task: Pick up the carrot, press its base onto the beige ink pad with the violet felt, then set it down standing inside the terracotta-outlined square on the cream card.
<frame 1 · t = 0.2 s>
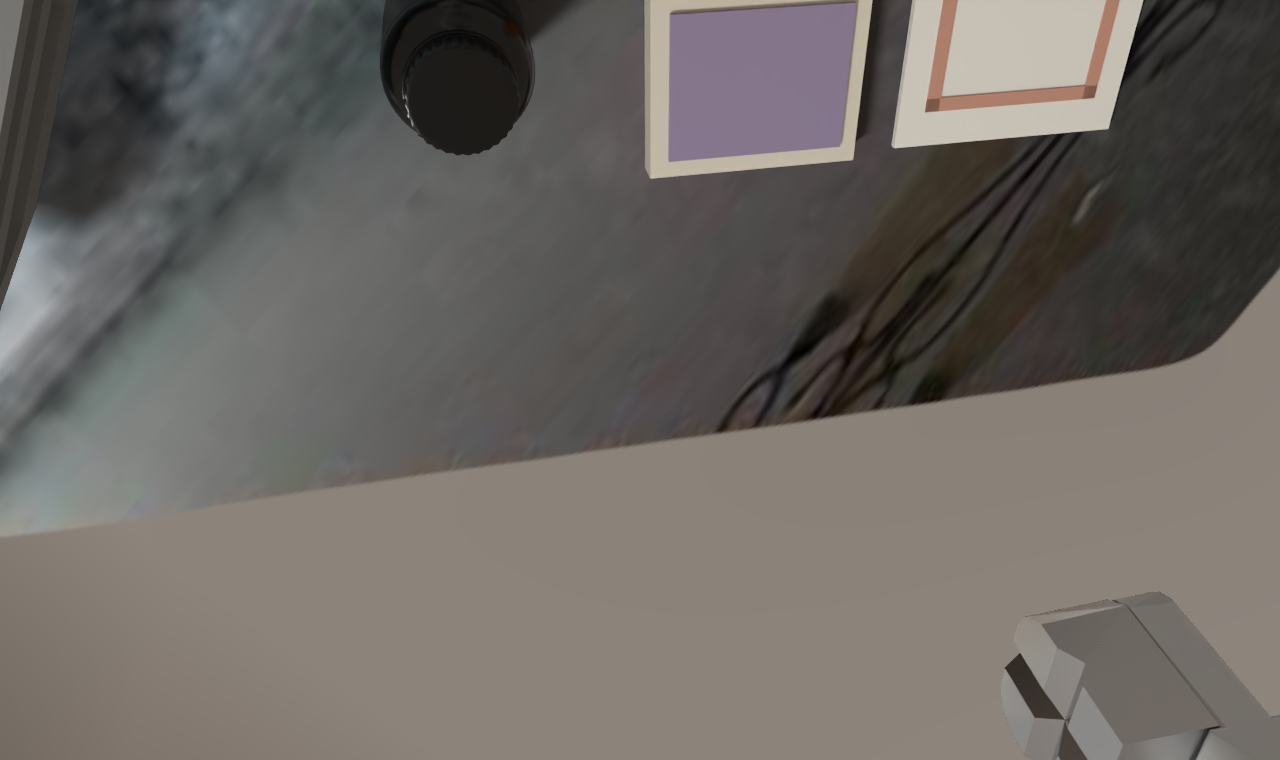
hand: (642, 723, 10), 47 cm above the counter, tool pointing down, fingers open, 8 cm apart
ink pad: (750, 73, 56), on the counter
supplement bottle: (450, 17, 52), on the counter
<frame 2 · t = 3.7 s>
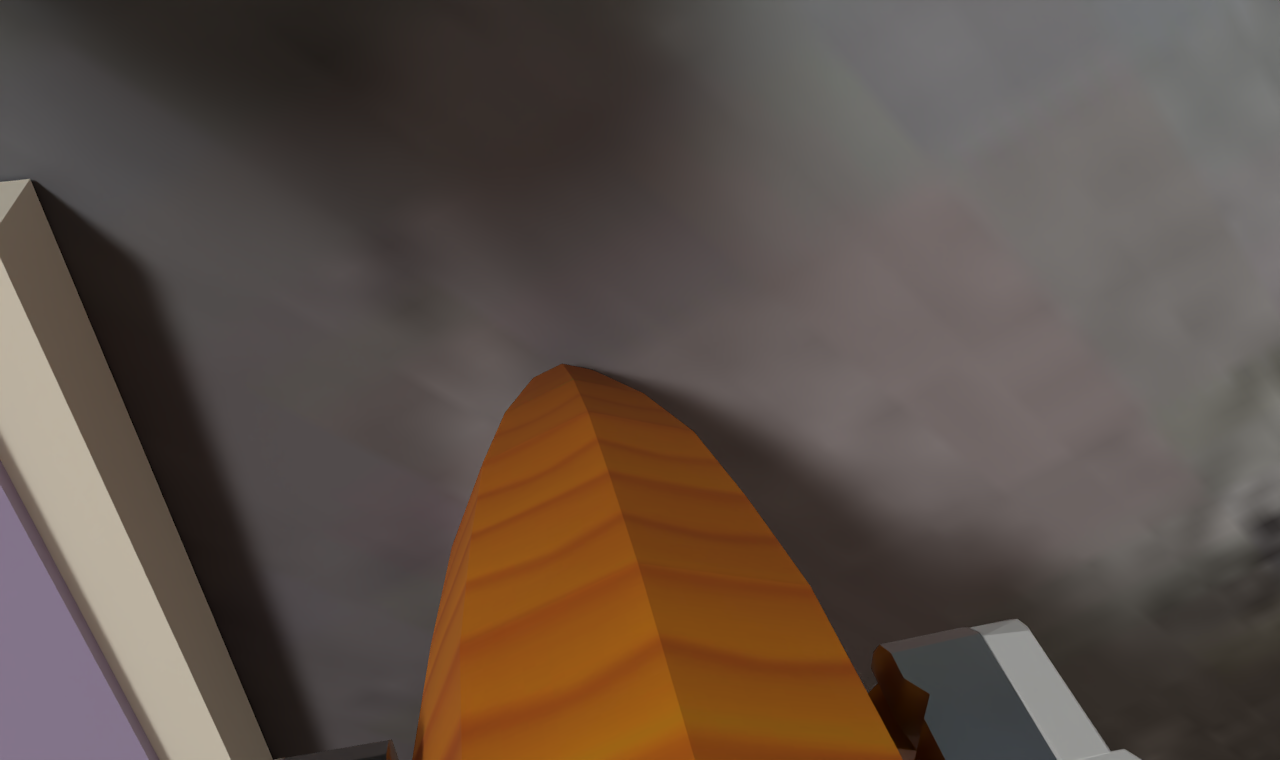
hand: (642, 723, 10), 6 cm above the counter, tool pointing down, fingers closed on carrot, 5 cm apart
carrot: (558, 371, 15), on the counter, touching gripper
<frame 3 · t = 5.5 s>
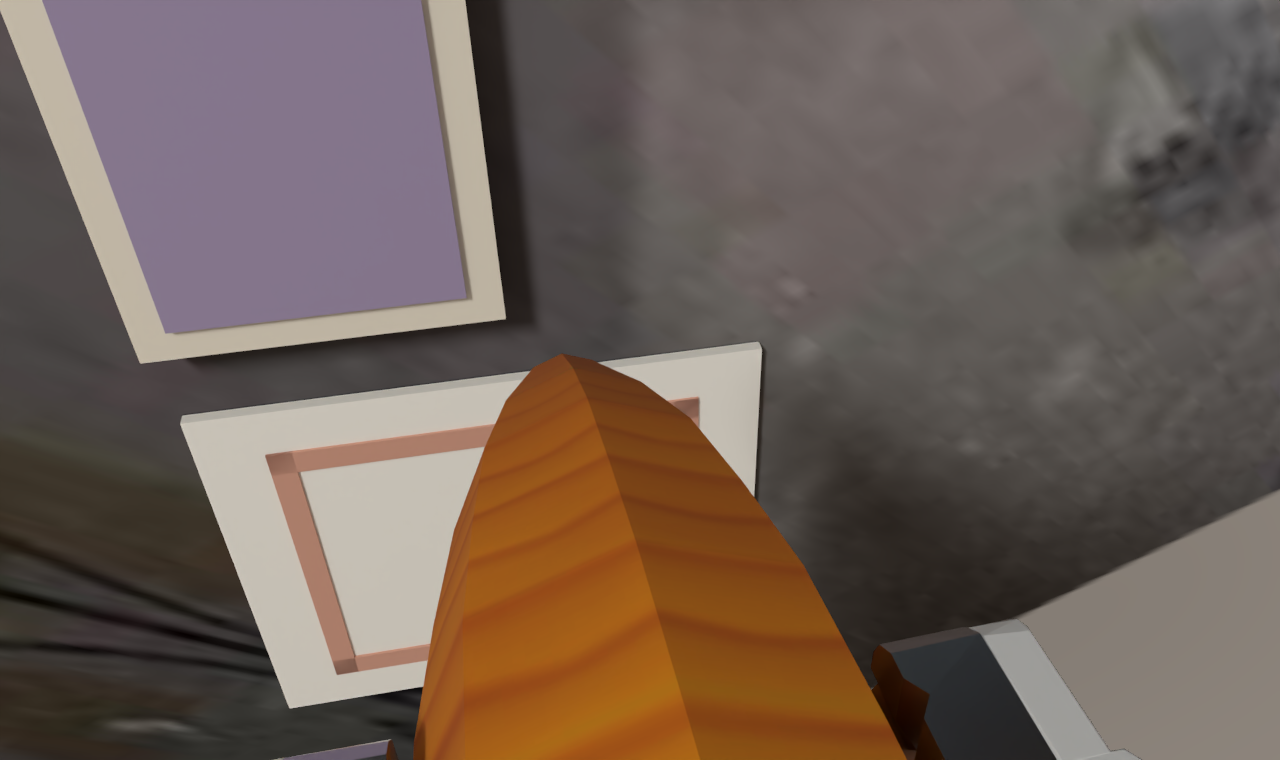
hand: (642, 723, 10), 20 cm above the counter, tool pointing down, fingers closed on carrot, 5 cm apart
print card: (504, 535, 36), on the counter
ink pad: (281, 115, 26), on the counter
carrot: (558, 362, 16), point 13 cm above the counter, touching gripper
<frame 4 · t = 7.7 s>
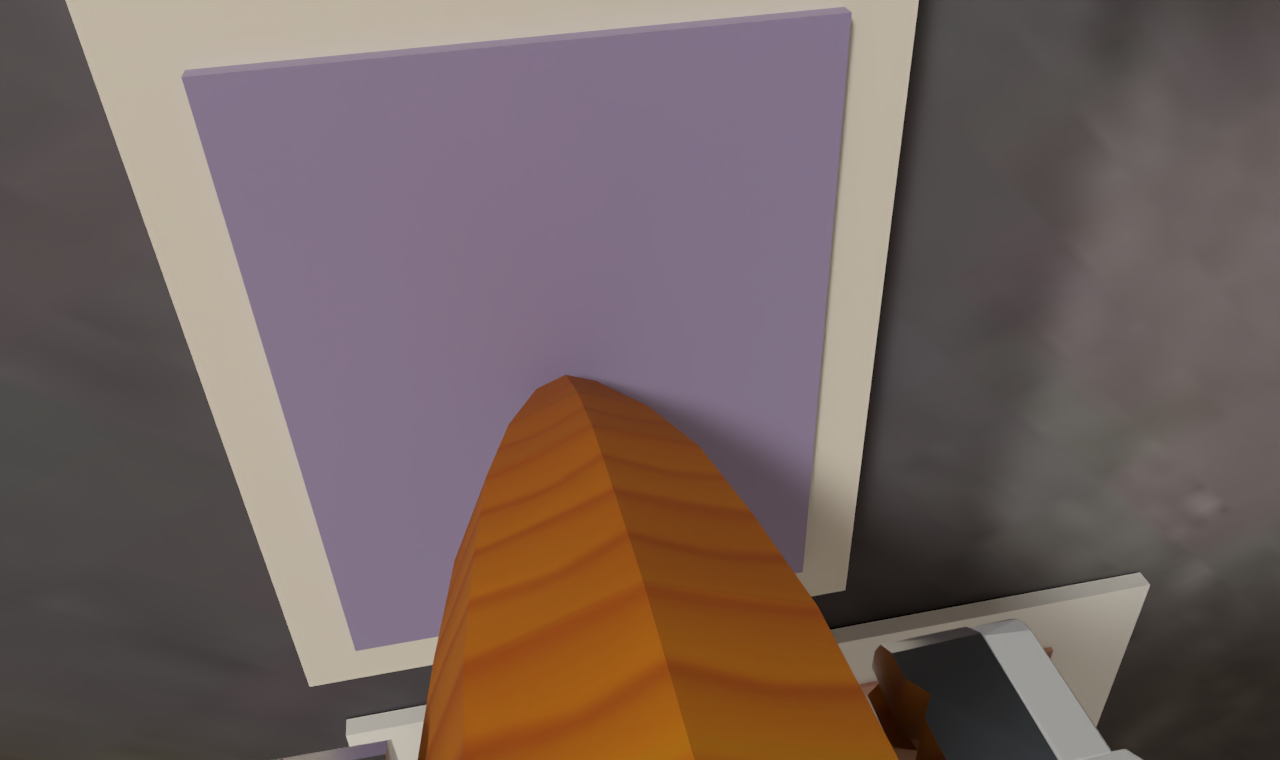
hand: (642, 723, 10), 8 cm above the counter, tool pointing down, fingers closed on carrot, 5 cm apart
ink pad: (549, 320, 16), on the counter
carrot: (561, 382, 15), point 2 cm above the counter, touching gripper, ink pad
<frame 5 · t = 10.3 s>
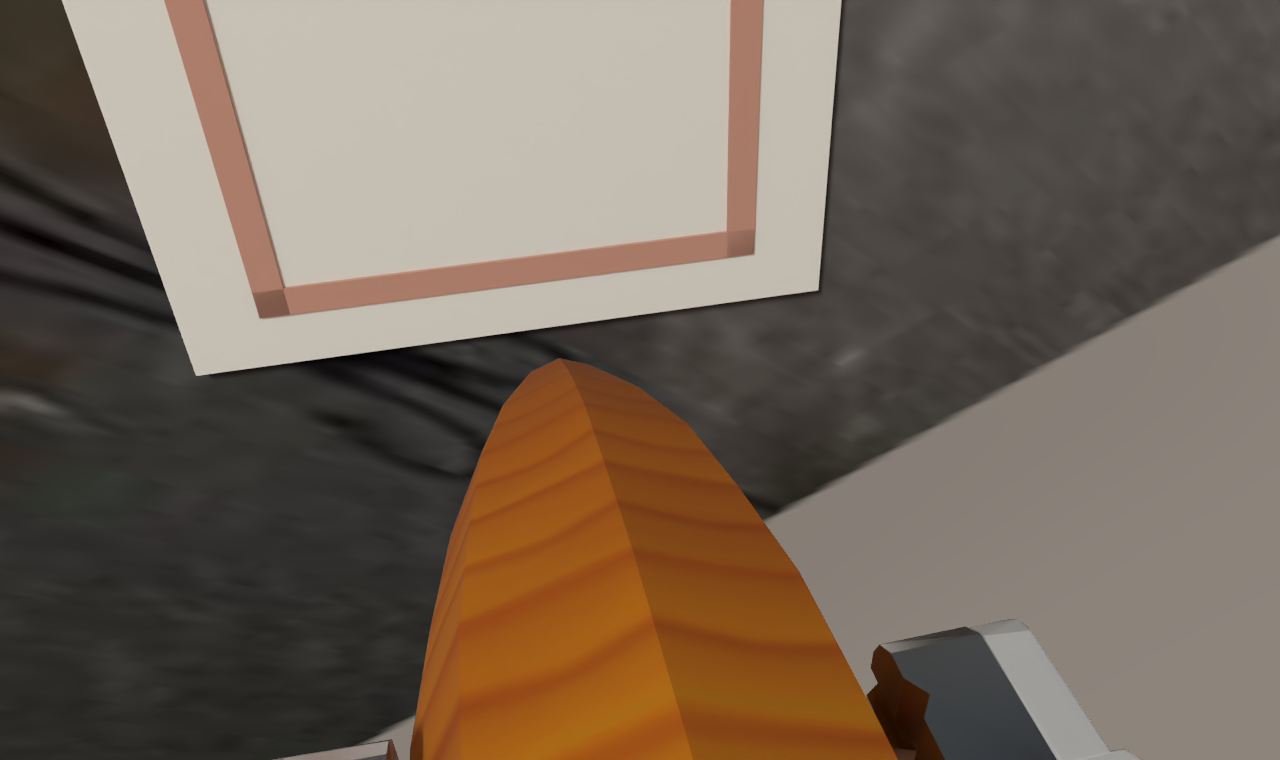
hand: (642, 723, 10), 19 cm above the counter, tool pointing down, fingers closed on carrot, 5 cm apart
print card: (490, 89, 26), on the counter
carrot: (555, 366, 16), point 12 cm above the counter, touching gripper
when the fingers open (7 cm above the counter, at t = 12.9 s): carrot stays where it is, resting on print card.
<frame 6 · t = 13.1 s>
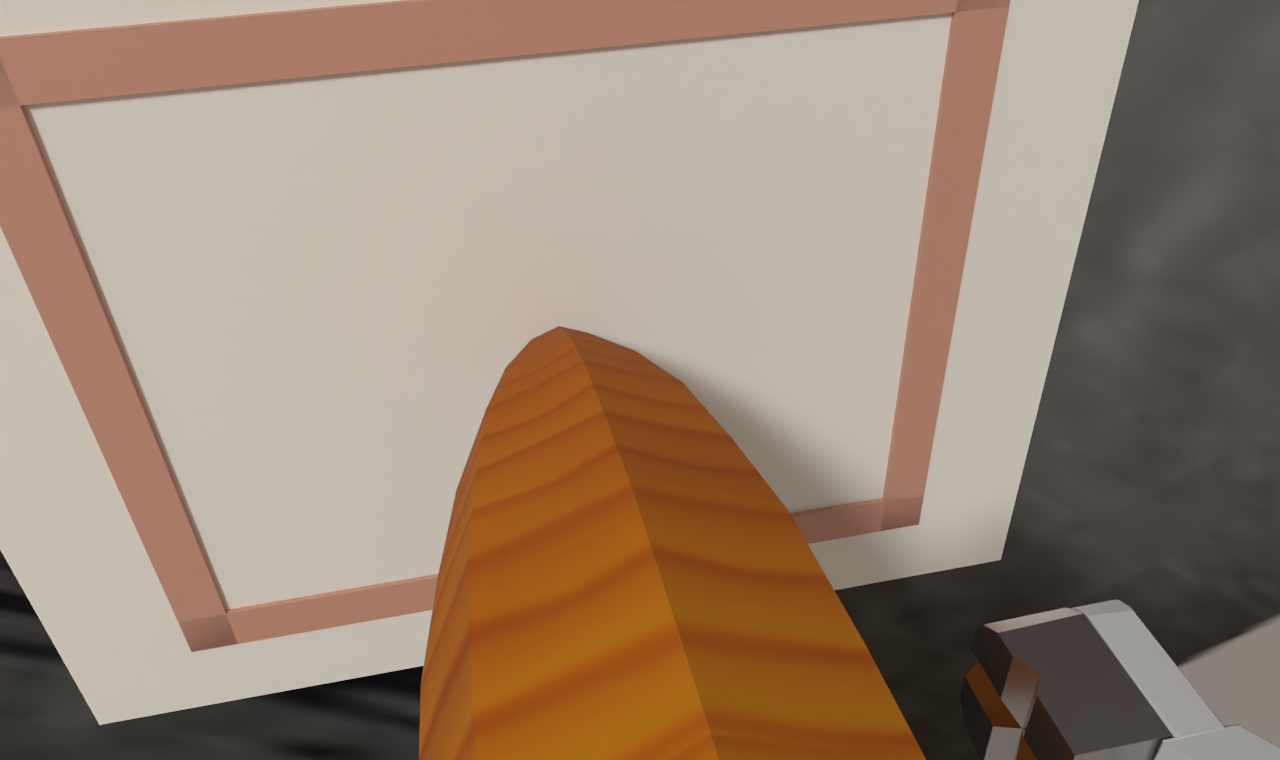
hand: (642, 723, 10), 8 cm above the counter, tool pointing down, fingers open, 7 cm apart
print card: (544, 330, 16), on the counter
carrot: (554, 335, 16), resting on print card
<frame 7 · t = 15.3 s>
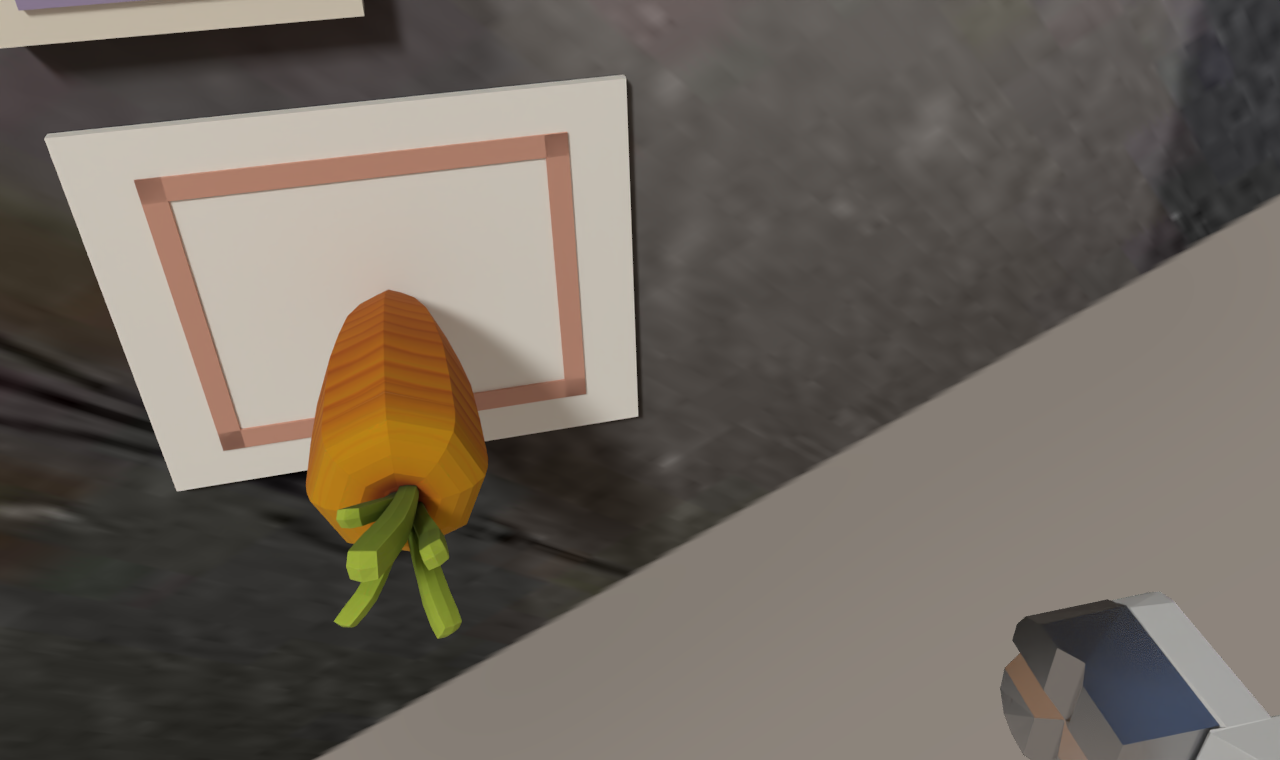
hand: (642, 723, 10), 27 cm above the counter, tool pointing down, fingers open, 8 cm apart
print card: (386, 293, 37), on the counter
carrot: (390, 295, 36), resting on print card
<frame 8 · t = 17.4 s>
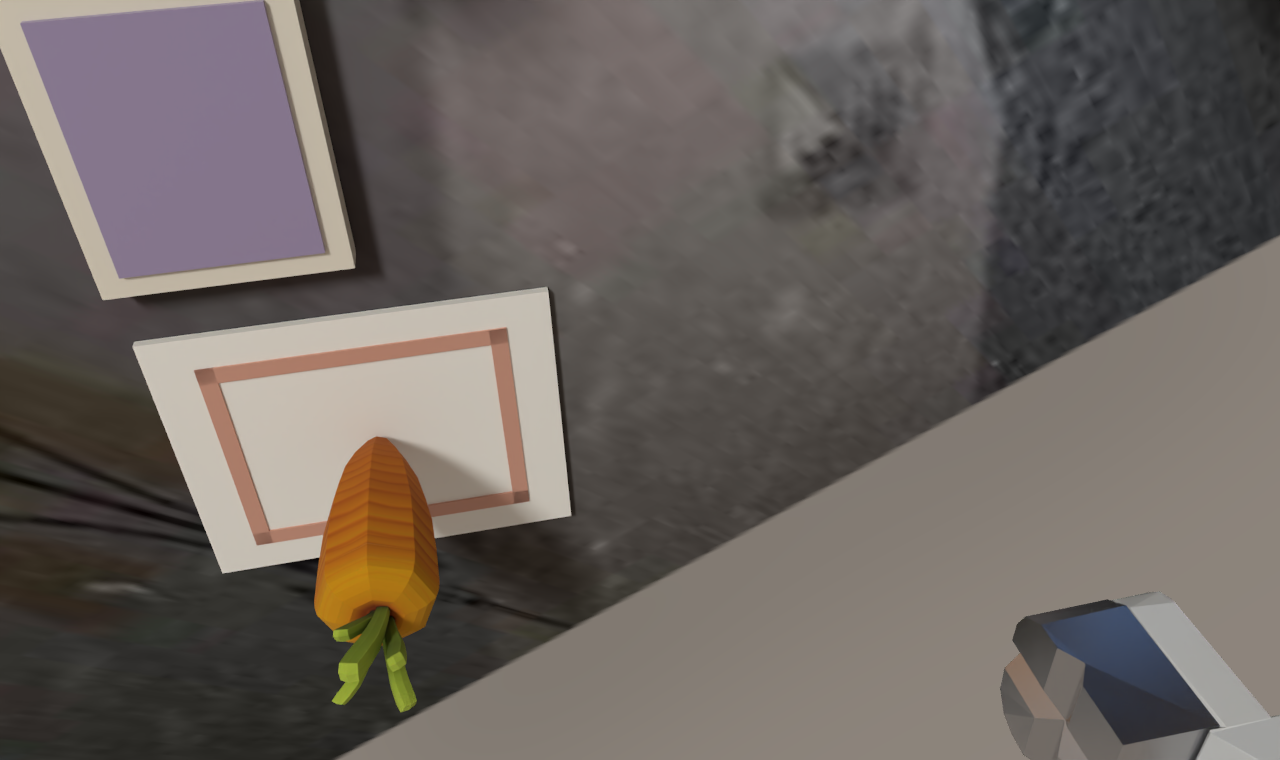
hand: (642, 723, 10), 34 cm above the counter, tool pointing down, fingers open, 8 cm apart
print card: (376, 435, 49), on the counter
ink pad: (193, 131, 39), on the counter
carrot: (378, 437, 49), resting on print card
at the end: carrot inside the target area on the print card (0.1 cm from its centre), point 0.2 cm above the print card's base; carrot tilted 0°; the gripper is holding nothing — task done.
